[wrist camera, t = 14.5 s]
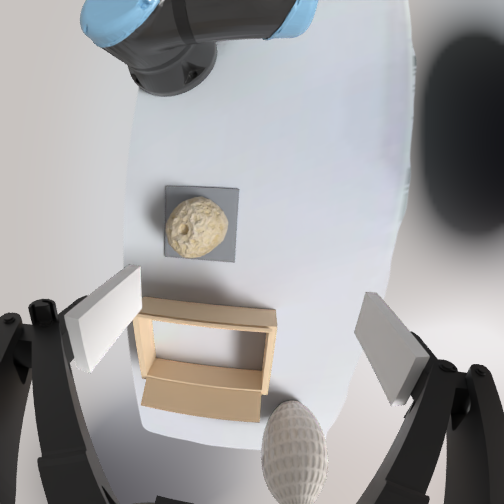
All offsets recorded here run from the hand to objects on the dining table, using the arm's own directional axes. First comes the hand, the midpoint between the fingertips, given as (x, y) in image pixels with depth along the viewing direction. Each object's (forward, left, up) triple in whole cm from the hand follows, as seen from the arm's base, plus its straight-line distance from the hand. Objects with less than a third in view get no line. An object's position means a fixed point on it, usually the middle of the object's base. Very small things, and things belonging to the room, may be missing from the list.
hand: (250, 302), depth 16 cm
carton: (+24, -8, -31) cm, 40 cm away
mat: (+2, -9, -31) cm, 32 cm away
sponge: (+2, -9, -31) cm, 32 cm away
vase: (+42, +11, -31) cm, 53 cm away
